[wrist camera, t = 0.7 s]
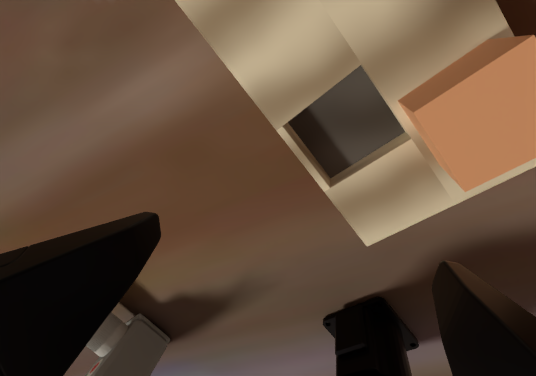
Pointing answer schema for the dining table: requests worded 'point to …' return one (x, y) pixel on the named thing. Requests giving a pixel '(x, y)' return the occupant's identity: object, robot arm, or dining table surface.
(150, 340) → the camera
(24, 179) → the dining table surface
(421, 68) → the trap board
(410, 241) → the dining table surface
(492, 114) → the orange block
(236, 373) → the dining table surface
